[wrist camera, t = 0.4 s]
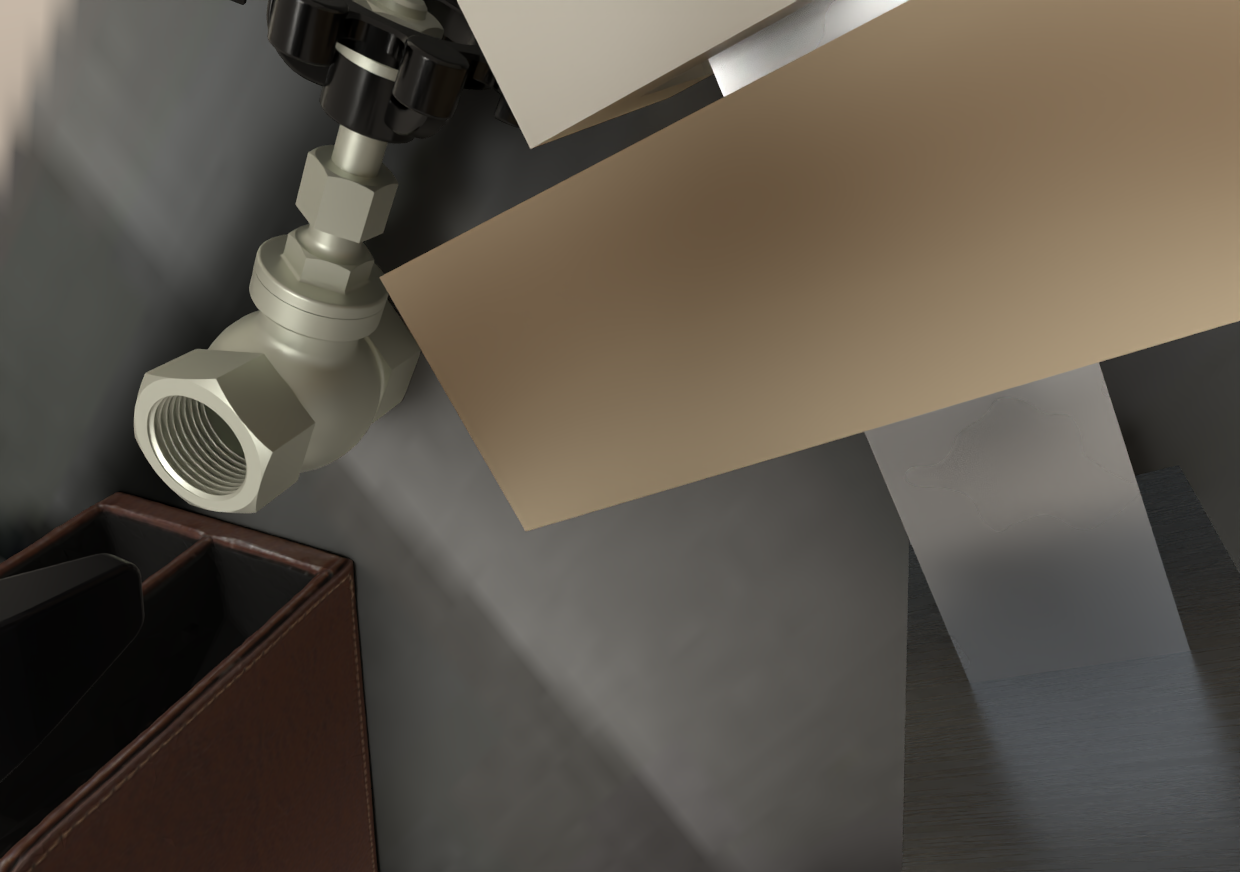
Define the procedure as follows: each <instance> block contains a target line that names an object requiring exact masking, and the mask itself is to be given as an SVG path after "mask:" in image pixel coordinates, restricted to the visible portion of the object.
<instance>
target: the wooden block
mask: <svg viewBox="0 0 1240 872" xmlns="http://www.w3.org/2000/svg"><path fill="white" fill-rule="evenodd" d="M379 278H380V280H381V281H382V283H383V285H384V286H385V288H386V290H387V292H388V293H389V295H390V297H391V299H392V300H393V302H394V304H395V306H396V307H397V309H398V311H399V312H400V314H401V316H402V318H403V319H404V321H405V323H406V325H407V326H408V328H409V330H410V332H411V333H412V335H413V337H414V338H415V340H416V342H417V344H418V345H419V347H420V349H421V351H422V352H423V354H424V356H425V358H426V359H427V361H428V363H429V365H430V366H431V368H432V370H433V371H434V373H435V375H436V377H437V378H438V380H439V382H440V384H441V385H442V387H443V389H444V391H445V392H446V394H447V396H448V397H449V399H450V401H451V403H452V404H453V406H454V408H455V410H456V411H457V413H458V415H459V417H460V418H461V420H462V422H463V423H464V425H465V427H466V429H467V430H468V432H469V434H470V436H471V437H472V439H473V441H474V443H475V444H476V446H477V448H478V449H479V451H480V453H481V455H482V456H483V458H484V460H485V462H486V463H487V465H488V467H489V469H490V470H491V472H492V474H493V475H494V477H495V479H496V481H497V482H498V484H499V486H500V488H501V489H502V491H503V493H504V495H505V496H506V498H507V500H508V501H509V503H510V505H511V507H512V508H513V510H514V512H515V514H516V515H517V517H518V519H519V521H520V522H521V524H522V526H523V528H524V529H525V531H529V530H533V529H536V528H539V527H543V526H546V525H550V524H553V523H556V522H560V521H563V520H567V519H570V518H573V517H577V516H580V515H583V514H587V513H590V512H594V511H597V510H600V509H604V508H607V507H611V506H614V505H617V504H621V503H624V502H627V501H631V500H634V499H638V498H641V497H644V496H648V495H651V494H655V493H658V492H661V491H665V490H668V489H671V488H675V487H678V486H682V485H685V484H688V483H692V482H695V481H699V480H702V479H705V478H709V477H712V476H715V475H719V474H722V473H726V472H729V471H732V470H736V469H739V468H743V467H746V466H749V465H753V464H756V463H760V462H763V461H766V460H770V459H773V458H776V457H780V456H783V455H787V454H790V453H793V452H797V451H800V450H804V449H807V448H810V447H814V446H817V445H820V444H824V443H827V442H831V441H834V440H837V439H841V438H844V437H848V436H851V435H854V434H858V433H861V432H864V431H868V430H871V429H875V428H878V427H881V426H885V425H888V424H892V423H895V422H898V421H902V420H905V419H908V418H912V417H915V416H919V415H922V414H925V413H929V412H932V411H936V410H939V409H942V408H946V407H949V406H952V405H956V404H959V403H963V402H966V401H969V400H973V399H976V398H980V397H983V396H986V395H990V394H993V393H996V392H1000V391H1003V390H1007V389H1010V388H1013V387H1017V386H1020V385H1024V384H1027V383H1030V382H1034V381H1037V380H1041V379H1044V378H1047V377H1051V376H1054V375H1057V374H1061V373H1064V372H1068V371H1071V370H1074V369H1078V368H1081V367H1085V366H1088V365H1091V364H1095V363H1098V362H1101V361H1105V360H1108V359H1112V358H1115V357H1118V356H1122V355H1125V354H1129V353H1132V352H1135V351H1139V350H1142V349H1145V348H1149V347H1152V346H1156V345H1159V344H1162V343H1166V342H1169V341H1173V340H1176V339H1179V338H1183V337H1186V336H1189V335H1193V334H1196V333H1200V332H1203V331H1206V330H1210V329H1213V328H1217V327H1220V326H1223V325H1227V324H1230V323H1233V322H1237V321H1240V0H909V1H907V2H905V3H903V4H901V5H899V6H897V7H895V8H893V9H891V10H889V11H888V12H886V13H884V14H882V15H880V16H878V17H876V18H874V19H872V20H870V21H868V22H866V23H865V24H863V25H861V26H859V27H857V28H855V29H853V30H851V31H849V32H847V33H845V34H844V35H842V36H840V37H838V38H836V39H834V40H832V41H830V42H828V43H826V44H824V45H822V46H821V47H819V48H817V49H815V50H813V51H811V52H809V53H807V54H805V55H803V56H801V57H800V58H798V59H796V60H794V61H792V62H790V63H788V64H786V65H784V66H782V67H780V68H779V69H777V70H775V71H773V72H771V73H769V74H767V75H765V76H763V77H761V78H759V79H757V80H756V81H754V82H752V83H750V84H748V85H746V86H744V87H742V88H740V89H738V90H736V91H735V92H733V93H731V94H729V95H727V96H725V97H723V98H721V99H719V100H717V101H715V102H713V103H712V104H710V105H708V106H706V107H704V108H702V109H700V110H698V111H696V112H694V113H692V114H691V115H689V116H687V117H685V118H683V119H681V120H679V121H677V122H675V123H673V124H671V125H670V126H668V127H666V128H664V129H662V130H660V131H658V132H656V133H654V134H652V135H650V136H648V137H647V138H645V139H643V140H641V141H639V142H637V143H635V144H633V145H631V146H629V147H627V148H626V149H624V150H622V151H620V152H618V153H616V154H614V155H612V156H610V157H608V158H606V159H604V160H603V161H601V162H599V163H597V164H595V165H593V166H591V167H589V168H587V169H585V170H583V171H582V172H580V173H578V174H576V175H574V176H572V177H570V178H568V179H566V180H564V181H562V182H561V183H559V184H557V185H555V186H553V187H551V188H549V189H547V190H545V191H543V192H541V193H539V194H538V195H536V196H534V197H532V198H530V199H528V200H526V201H524V202H522V203H520V204H518V205H517V206H515V207H513V208H511V209H509V210H507V211H505V212H503V213H501V214H499V215H497V216H495V217H494V218H492V219H490V220H488V221H486V222H484V223H482V224H480V225H478V226H476V227H474V228H473V229H471V230H469V231H467V232H465V233H463V234H461V235H459V236H457V237H455V238H453V239H452V240H450V241H448V242H446V243H444V244H442V245H440V246H438V247H436V248H434V249H432V250H430V251H429V252H427V253H425V254H423V255H421V256H419V257H417V258H415V259H413V260H411V261H409V262H408V263H406V264H404V265H402V266H400V267H398V268H396V269H394V270H392V271H390V272H388V273H386V274H385V275H383V276H381V277H379Z"/></svg>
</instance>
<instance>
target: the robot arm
mask: <svg viewBox="0 0 1240 872" xmlns="http://www.w3.org/2000/svg"><path fill="white" fill-rule="evenodd" d="M143 621H144V604H143V592H142V580H141V573H140V570H139V569H138V567H137V566H136V565H134V564H133V563H130V562H128V561H126V560H124V559H121V558H119V557H117V556H115V555H112V554H107V553H101V554H95V555H91V556H87V557H84V558H80V559H76V560H72V561H68V562H64V563H60V564H57V565H53V566H49V567H45V568H41V569H37V570H33V571H30V572H26V573H22V574H18V575H14V576H10V577H6V578H3V579H0V783H1V782H2V781H3V780H4V779H5V778H6V777H7V776H8V775H9V774H10V773H11V772H12V771H13V770H14V769H15V768H16V767H18V766H19V765H20V764H21V763H22V762H23V761H24V760H25V759H26V758H27V757H28V756H29V755H30V754H31V753H32V752H33V751H34V750H35V749H36V748H37V747H38V746H39V745H40V744H41V743H42V742H43V741H44V740H45V738H46V737H47V736H48V735H49V734H50V733H51V732H52V731H53V730H54V729H55V728H56V727H57V726H58V724H59V723H60V722H61V721H62V720H63V719H64V718H65V717H66V715H67V714H68V713H69V712H70V711H71V710H72V709H73V708H74V706H75V705H76V704H77V703H78V702H79V701H80V700H81V699H82V697H83V696H84V695H85V694H86V693H87V692H88V691H89V689H90V688H91V687H92V686H93V685H94V684H95V683H96V682H97V680H98V679H99V678H100V677H101V676H102V675H103V674H104V673H105V671H106V670H107V669H108V668H109V667H110V666H111V665H112V663H113V662H114V661H115V660H116V659H117V658H118V657H119V656H120V654H121V653H122V652H123V651H124V650H125V649H126V648H127V647H128V645H129V644H130V643H131V642H132V641H133V640H134V638H135V637H136V636H137V634H138V633H139V631H140V629H141V627H142V625H143Z"/></svg>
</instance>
